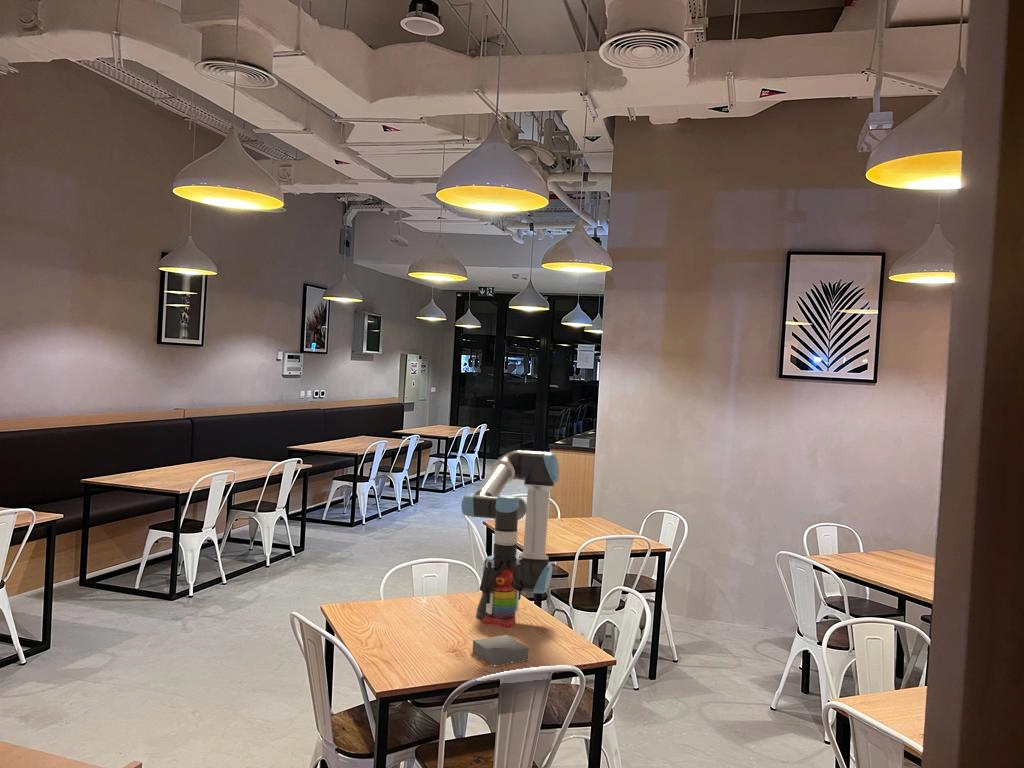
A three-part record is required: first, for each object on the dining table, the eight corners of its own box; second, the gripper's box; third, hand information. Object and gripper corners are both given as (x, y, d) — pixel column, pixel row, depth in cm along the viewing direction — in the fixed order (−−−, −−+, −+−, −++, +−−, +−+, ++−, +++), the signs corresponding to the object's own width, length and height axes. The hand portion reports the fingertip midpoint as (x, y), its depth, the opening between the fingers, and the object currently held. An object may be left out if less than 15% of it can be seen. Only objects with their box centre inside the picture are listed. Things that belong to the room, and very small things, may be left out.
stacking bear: (479, 623, 234) (482, 568, 235) (491, 615, 244) (493, 562, 244) (510, 629, 231) (513, 573, 231) (521, 620, 240) (523, 566, 241)
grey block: (506, 646, 247) (506, 634, 247) (528, 660, 235) (528, 648, 235) (472, 652, 240) (473, 640, 240) (493, 666, 228) (494, 653, 228)
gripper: (527, 538, 247) (524, 604, 246) (470, 542, 236) (467, 611, 235) (539, 543, 240) (536, 610, 240) (481, 547, 229) (478, 618, 229)
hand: (502, 611), depth 238 cm, fingers closed on stacking bear, 9 cm apart
